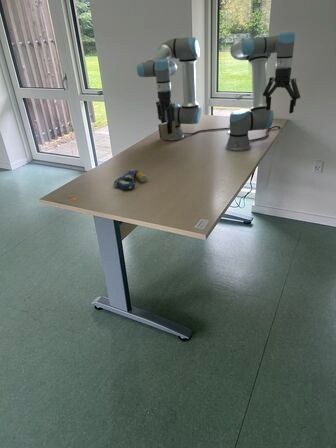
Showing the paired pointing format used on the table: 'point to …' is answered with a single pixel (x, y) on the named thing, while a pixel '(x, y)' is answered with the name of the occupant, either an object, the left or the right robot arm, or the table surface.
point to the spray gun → (129, 179)
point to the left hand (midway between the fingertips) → (167, 132)
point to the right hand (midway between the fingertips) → (279, 111)
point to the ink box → (166, 130)
